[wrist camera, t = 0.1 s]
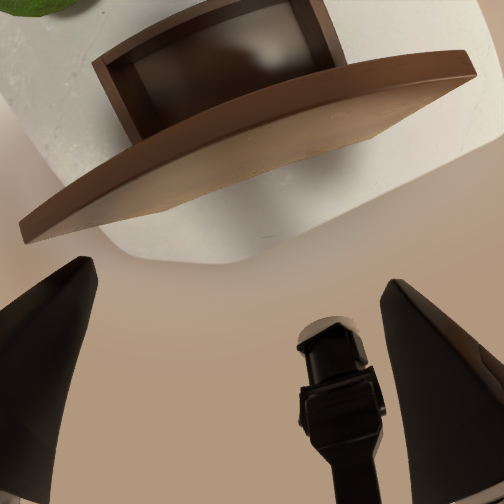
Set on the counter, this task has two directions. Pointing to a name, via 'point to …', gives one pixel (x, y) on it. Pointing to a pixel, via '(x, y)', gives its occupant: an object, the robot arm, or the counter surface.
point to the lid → (251, 139)
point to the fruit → (34, 7)
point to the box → (214, 59)
